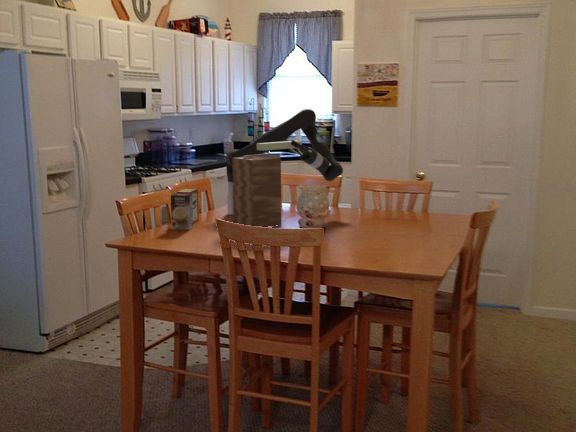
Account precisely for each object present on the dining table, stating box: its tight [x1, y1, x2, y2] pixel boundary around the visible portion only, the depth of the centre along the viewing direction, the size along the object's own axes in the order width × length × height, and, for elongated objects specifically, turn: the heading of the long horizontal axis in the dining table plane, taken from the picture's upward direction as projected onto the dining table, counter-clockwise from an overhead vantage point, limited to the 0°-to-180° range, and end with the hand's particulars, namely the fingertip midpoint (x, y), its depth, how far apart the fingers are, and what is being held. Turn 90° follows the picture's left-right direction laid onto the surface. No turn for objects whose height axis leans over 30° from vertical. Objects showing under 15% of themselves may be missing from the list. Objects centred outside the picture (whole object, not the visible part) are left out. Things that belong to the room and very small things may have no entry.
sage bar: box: [257, 140, 303, 151], centre depth 299 cm, size 4×24×3 cm, turn 130°
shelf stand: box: [232, 153, 282, 227], centre depth 299 cm, size 16×16×34 cm
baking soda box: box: [176, 188, 200, 224], centre depth 310 cm, size 10×6×16 cm
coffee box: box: [170, 192, 194, 231], centre depth 295 cm, size 9×6×16 cm
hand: (288, 141), depth 302 cm, fingers closed on sage bar, 4 cm apart
